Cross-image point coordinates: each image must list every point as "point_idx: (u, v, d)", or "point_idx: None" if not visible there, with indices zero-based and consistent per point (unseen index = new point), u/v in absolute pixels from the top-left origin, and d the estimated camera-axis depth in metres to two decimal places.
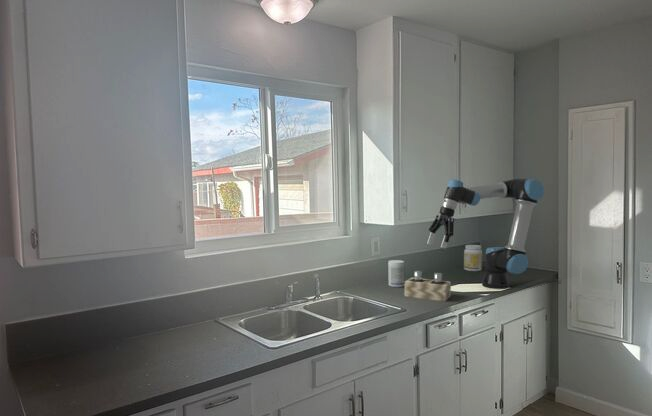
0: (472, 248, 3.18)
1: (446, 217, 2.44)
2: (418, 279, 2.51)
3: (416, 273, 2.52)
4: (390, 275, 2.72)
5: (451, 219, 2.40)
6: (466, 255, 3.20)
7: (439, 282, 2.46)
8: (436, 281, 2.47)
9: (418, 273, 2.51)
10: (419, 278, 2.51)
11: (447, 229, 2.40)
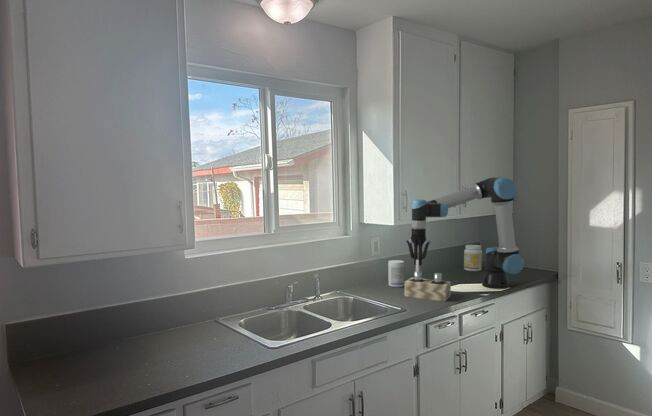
0: (472, 248, 3.18)
1: (423, 238, 2.49)
2: (418, 279, 2.51)
3: (416, 273, 2.52)
4: (390, 275, 2.72)
5: (428, 244, 2.49)
6: (466, 255, 3.20)
7: (439, 282, 2.46)
8: (436, 281, 2.47)
9: (418, 273, 2.51)
10: (419, 278, 2.51)
11: (421, 253, 2.51)
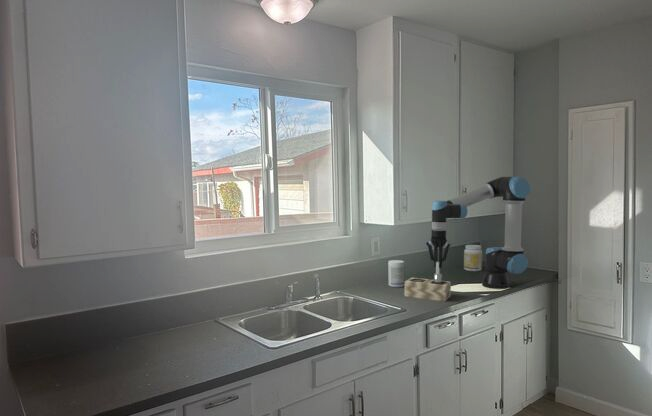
0: (472, 248, 3.18)
1: (444, 240, 2.44)
2: None
3: None
4: (390, 275, 2.72)
5: (449, 246, 2.44)
6: (466, 255, 3.20)
7: (439, 283, 2.46)
8: (436, 282, 2.47)
9: None
10: None
11: (441, 255, 2.46)
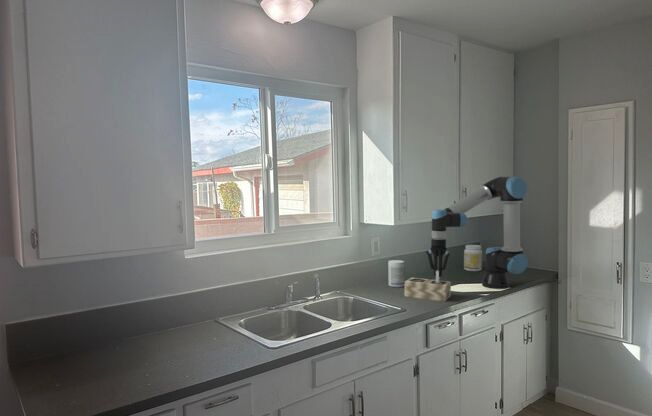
0: (472, 248, 3.18)
1: (443, 249, 2.45)
2: None
3: None
4: (390, 275, 2.72)
5: None
6: (466, 255, 3.20)
7: None
8: None
9: None
10: None
11: (441, 264, 2.46)
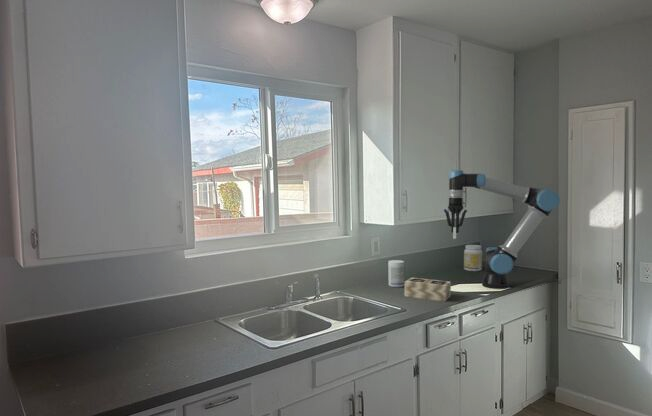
0: (472, 248, 3.18)
1: (460, 206, 2.62)
2: None
3: None
4: (390, 275, 2.72)
5: (465, 212, 2.61)
6: (466, 255, 3.20)
7: None
8: None
9: None
10: None
11: (458, 221, 2.63)
